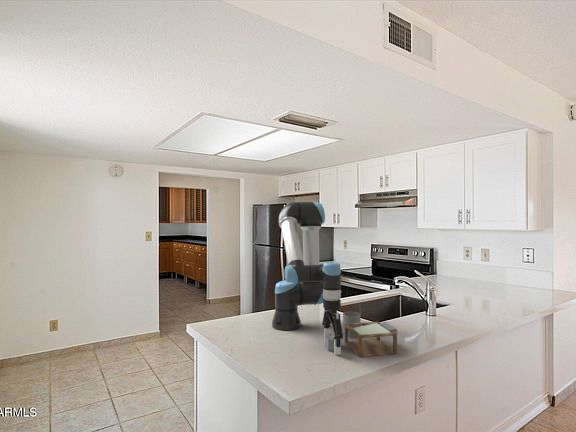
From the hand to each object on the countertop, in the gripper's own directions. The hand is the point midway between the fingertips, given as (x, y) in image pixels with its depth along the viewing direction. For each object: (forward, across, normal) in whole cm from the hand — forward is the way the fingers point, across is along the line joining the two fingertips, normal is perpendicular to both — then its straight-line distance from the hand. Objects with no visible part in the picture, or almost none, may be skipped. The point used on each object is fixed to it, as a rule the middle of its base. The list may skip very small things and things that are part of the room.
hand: (332, 348), depth 151 cm
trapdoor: (-7, -3, -18) cm, 19 cm away
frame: (0, -3, -16) cm, 16 cm away
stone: (0, 0, 0) cm, 0 cm away
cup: (0, +15, -15) cm, 21 cm away
